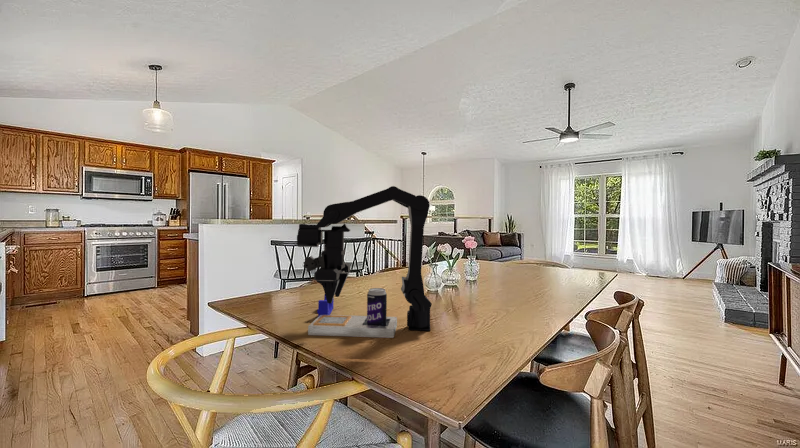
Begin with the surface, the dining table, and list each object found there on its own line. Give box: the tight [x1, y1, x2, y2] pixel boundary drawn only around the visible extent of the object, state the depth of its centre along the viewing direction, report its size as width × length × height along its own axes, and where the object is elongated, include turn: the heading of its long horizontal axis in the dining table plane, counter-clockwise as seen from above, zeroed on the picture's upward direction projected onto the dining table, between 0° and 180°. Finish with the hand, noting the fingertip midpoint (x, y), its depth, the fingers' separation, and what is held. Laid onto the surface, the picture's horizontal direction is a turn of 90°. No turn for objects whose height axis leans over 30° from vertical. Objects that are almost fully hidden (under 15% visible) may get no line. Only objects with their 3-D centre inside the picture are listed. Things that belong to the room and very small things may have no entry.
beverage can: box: [366, 287, 388, 326], centre depth 101 cm, size 6×6×12 cm
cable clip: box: [316, 293, 335, 318], centre depth 119 cm, size 12×4×6 cm, turn 2°
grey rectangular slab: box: [307, 314, 398, 339], centre depth 102 cm, size 24×12×3 cm, turn 86°
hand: (333, 299), depth 102 cm, fingers open, 8 cm apart
